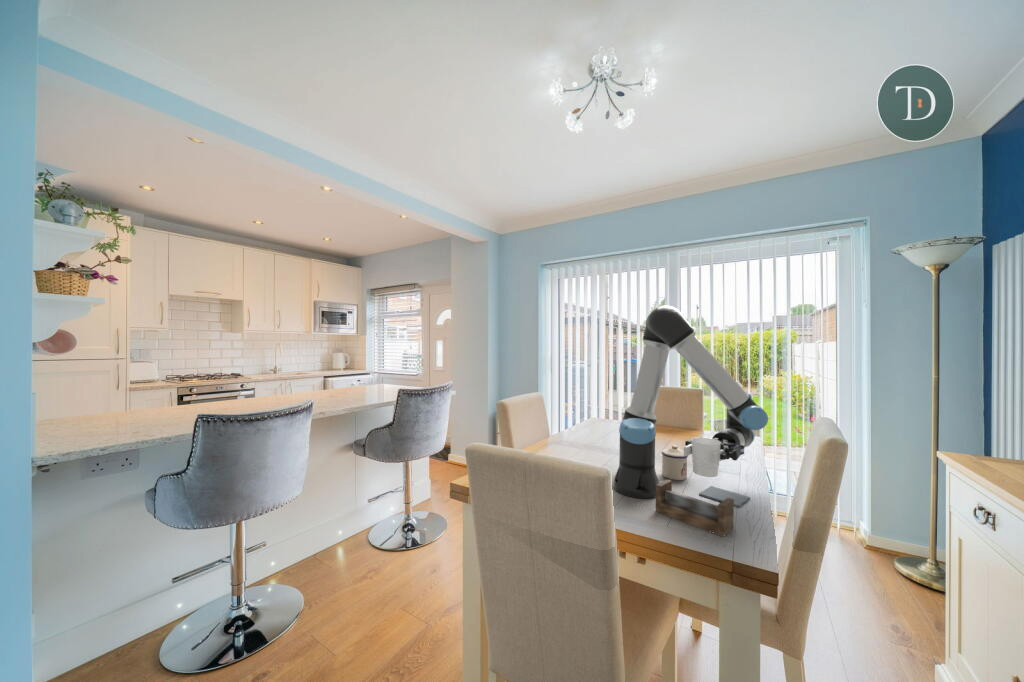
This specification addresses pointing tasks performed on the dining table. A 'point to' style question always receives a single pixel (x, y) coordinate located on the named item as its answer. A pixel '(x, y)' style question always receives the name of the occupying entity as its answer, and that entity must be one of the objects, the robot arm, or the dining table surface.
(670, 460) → the teacup with lid
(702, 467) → the white cup
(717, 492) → the slate mat
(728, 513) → the offcut rack
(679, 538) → the dining table surface
